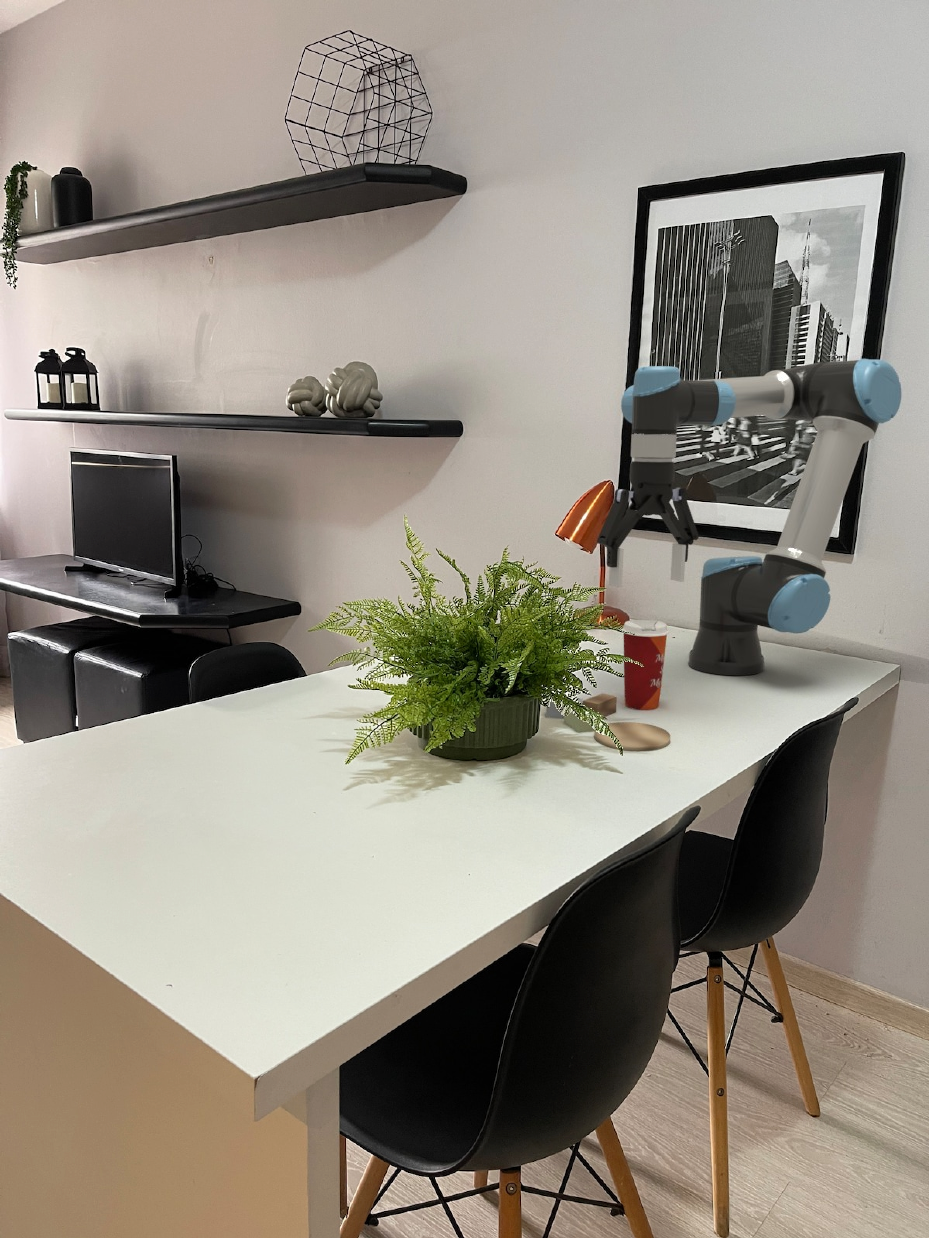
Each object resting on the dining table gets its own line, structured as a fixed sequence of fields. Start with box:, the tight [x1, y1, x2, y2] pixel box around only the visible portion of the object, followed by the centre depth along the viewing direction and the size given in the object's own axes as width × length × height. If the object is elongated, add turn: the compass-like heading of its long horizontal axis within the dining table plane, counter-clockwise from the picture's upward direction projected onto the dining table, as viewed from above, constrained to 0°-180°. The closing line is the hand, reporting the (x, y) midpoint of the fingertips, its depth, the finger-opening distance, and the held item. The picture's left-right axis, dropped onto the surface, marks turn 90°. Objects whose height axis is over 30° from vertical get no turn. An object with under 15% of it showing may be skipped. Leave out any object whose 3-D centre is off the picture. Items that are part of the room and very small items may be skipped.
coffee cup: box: [621, 619, 670, 711], centre depth 168 cm, size 8×8×15 cm
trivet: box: [593, 721, 671, 752], centre depth 151 cm, size 12×12×1 cm
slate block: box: [545, 697, 584, 719], centre depth 163 cm, size 6×3×3 cm, turn 80°
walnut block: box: [582, 693, 618, 718], centre depth 164 cm, size 6×3×3 cm, turn 139°
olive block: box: [563, 712, 595, 734], centre depth 157 cm, size 6×3×3 cm, turn 17°
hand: (646, 583), depth 165 cm, fingers open, 13 cm apart
